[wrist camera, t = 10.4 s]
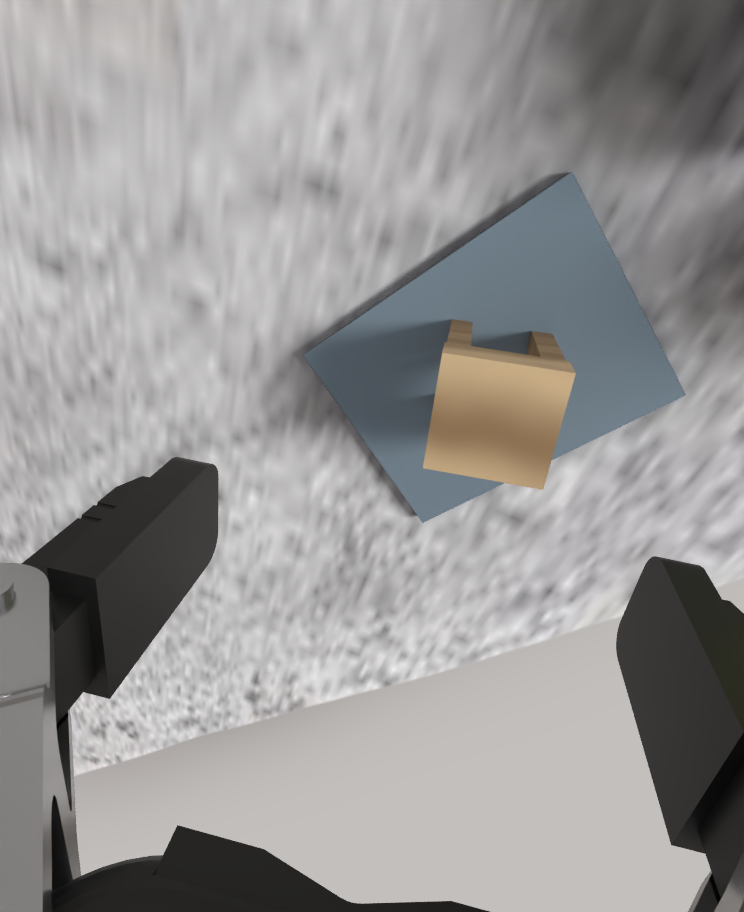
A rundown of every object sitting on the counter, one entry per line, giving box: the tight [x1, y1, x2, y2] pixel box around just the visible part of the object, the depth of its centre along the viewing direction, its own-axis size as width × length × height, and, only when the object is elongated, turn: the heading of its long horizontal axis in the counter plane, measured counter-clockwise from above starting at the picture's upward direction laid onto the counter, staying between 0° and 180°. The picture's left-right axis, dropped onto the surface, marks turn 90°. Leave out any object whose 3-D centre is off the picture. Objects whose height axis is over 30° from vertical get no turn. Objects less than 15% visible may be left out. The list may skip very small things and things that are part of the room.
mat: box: [303, 172, 686, 523], centre depth 34 cm, size 18×14×1 cm
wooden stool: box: [423, 319, 576, 489], centre depth 30 cm, size 6×6×8 cm
